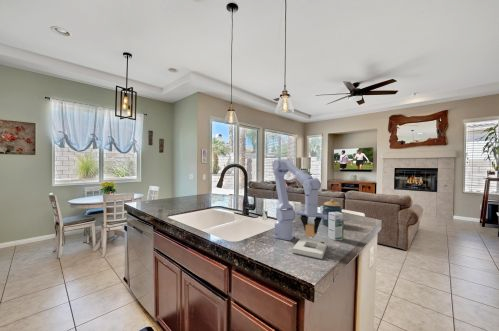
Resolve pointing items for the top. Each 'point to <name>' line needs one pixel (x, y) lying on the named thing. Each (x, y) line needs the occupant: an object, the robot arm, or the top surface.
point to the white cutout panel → (310, 248)
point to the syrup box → (335, 225)
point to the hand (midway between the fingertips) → (310, 232)
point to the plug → (310, 230)
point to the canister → (330, 209)
